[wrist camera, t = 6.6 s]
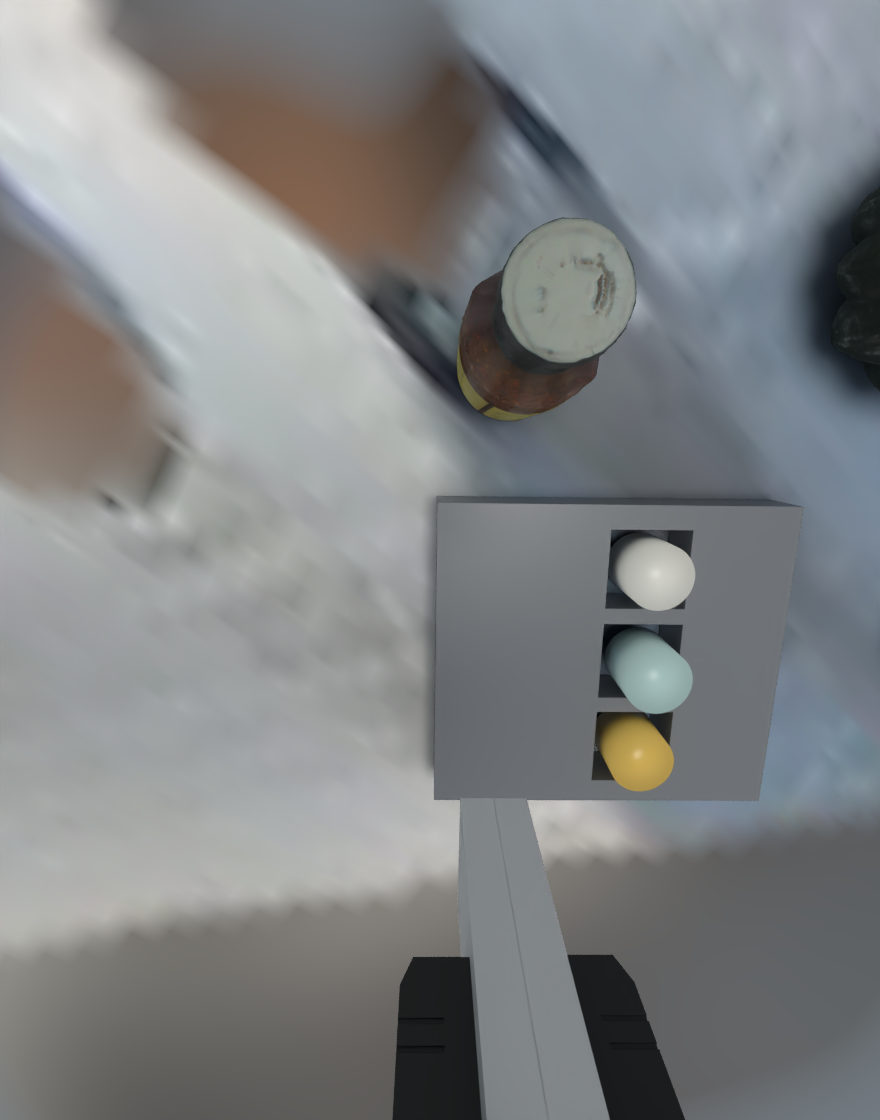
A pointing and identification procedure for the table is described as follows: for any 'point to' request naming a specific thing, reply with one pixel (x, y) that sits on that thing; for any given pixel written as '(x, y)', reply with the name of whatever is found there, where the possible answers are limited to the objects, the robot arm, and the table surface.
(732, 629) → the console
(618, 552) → the ivory button
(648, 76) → the table surface
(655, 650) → the teal button
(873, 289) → the squash
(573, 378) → the sauce bottle
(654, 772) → the amber button
